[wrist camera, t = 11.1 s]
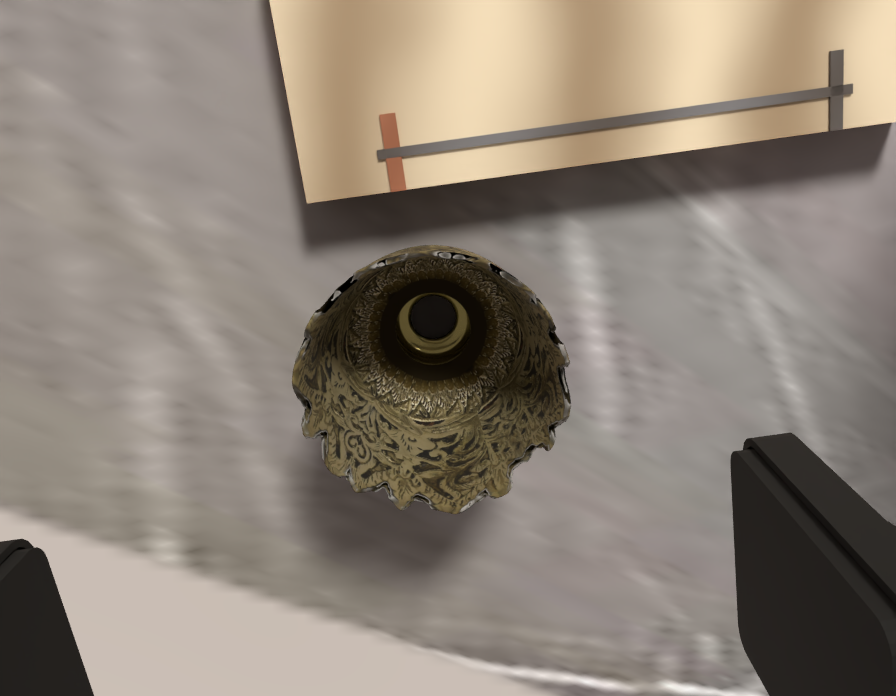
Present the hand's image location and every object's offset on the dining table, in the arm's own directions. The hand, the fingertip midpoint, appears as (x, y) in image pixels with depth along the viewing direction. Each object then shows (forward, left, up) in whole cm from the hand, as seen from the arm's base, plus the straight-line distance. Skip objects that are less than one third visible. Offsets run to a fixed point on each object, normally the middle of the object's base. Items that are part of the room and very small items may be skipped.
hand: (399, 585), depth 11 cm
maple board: (-7, -8, -19) cm, 21 cm away
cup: (0, +1, -19) cm, 19 cm away
